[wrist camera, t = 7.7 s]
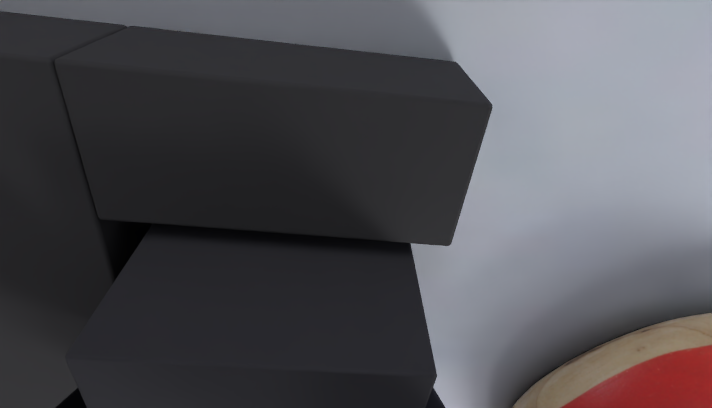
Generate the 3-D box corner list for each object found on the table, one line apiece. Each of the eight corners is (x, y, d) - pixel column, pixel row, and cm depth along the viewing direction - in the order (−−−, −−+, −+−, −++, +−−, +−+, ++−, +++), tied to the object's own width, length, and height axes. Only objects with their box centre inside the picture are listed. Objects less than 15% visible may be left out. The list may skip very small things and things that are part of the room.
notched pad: (458, 61, 8) (494, 104, 6) (376, 400, 15) (381, 476, 13) (-134, -5, 7) (-320, 20, 5) (56, 385, 14) (5, 464, 12)
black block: (405, 216, 9) (438, 375, 6) (374, 360, 12) (384, 522, 9) (169, 197, 9) (61, 357, 6) (193, 350, 12) (133, 516, 8)
